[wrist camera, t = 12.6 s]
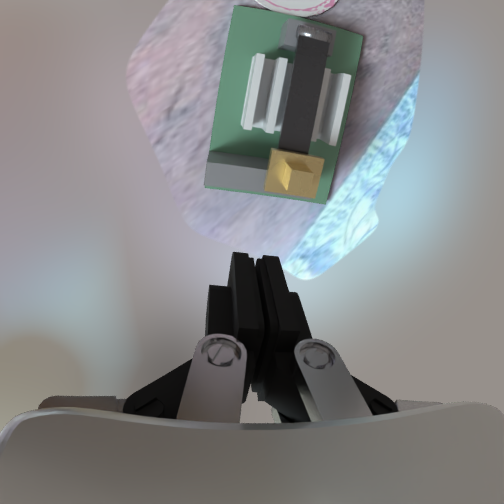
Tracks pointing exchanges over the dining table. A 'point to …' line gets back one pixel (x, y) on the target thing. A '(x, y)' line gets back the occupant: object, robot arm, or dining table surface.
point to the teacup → (297, 6)
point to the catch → (293, 173)
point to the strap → (304, 88)
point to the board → (274, 100)
